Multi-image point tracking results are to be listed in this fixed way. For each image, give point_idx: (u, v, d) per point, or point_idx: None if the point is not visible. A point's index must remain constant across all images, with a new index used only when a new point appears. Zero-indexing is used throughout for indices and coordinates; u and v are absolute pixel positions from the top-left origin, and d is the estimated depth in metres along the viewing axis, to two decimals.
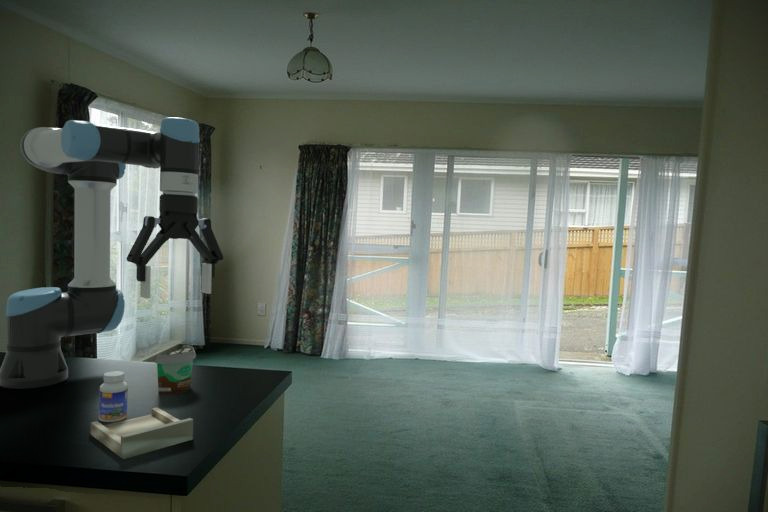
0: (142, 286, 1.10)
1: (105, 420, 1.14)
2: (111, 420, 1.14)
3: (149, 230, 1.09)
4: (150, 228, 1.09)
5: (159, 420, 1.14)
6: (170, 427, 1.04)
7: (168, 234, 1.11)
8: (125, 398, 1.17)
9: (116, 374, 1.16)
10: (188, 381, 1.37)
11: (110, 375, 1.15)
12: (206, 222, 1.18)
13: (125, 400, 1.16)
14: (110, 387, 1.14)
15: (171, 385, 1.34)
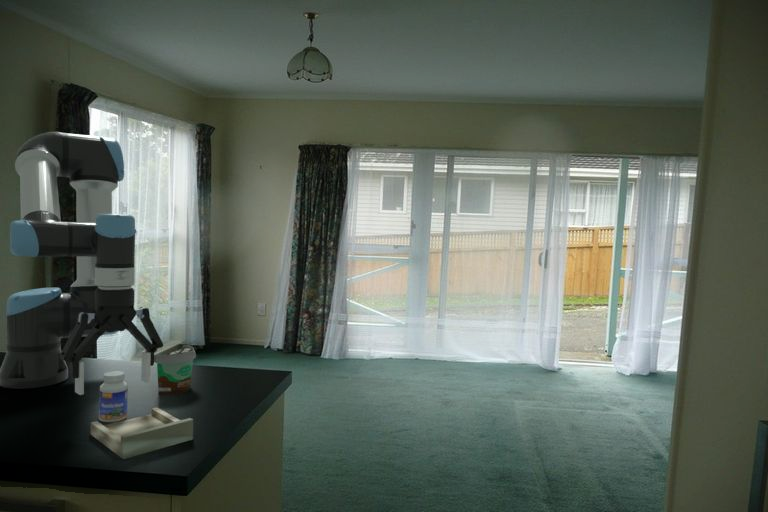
0: (76, 381, 1.11)
1: (105, 420, 1.14)
2: (111, 420, 1.14)
3: (82, 327, 1.10)
4: (83, 325, 1.10)
5: (159, 420, 1.14)
6: (170, 427, 1.04)
7: (102, 329, 1.12)
8: (125, 398, 1.17)
9: (116, 374, 1.16)
10: (188, 381, 1.37)
11: (110, 375, 1.15)
12: (144, 312, 1.19)
13: (125, 400, 1.16)
14: (110, 387, 1.14)
15: (171, 385, 1.34)
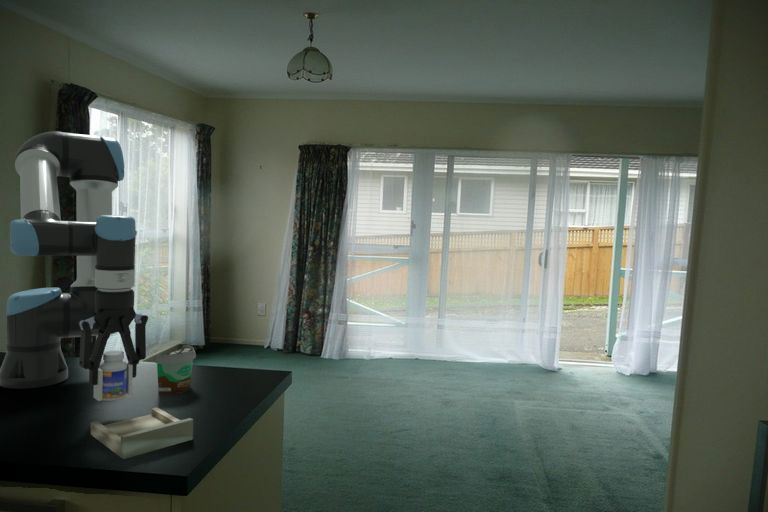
0: (94, 387, 1.15)
1: (104, 399, 1.15)
2: (110, 399, 1.15)
3: (87, 335, 1.11)
4: (88, 333, 1.11)
5: (159, 420, 1.14)
6: (170, 427, 1.04)
7: (107, 333, 1.13)
8: (125, 377, 1.17)
9: (116, 353, 1.16)
10: (188, 381, 1.37)
11: (110, 354, 1.15)
12: (143, 318, 1.19)
13: (124, 379, 1.17)
14: (110, 366, 1.14)
15: (171, 385, 1.34)
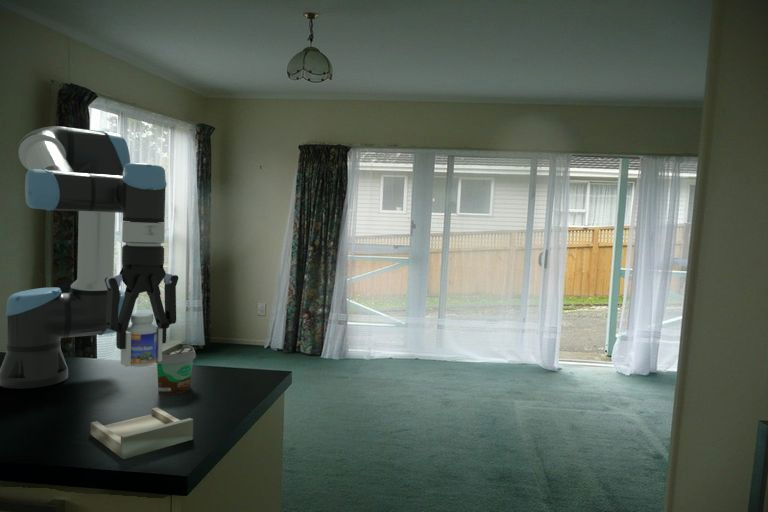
0: (122, 352, 1.05)
1: (133, 364, 1.05)
2: (139, 364, 1.05)
3: (115, 293, 1.01)
4: (116, 291, 1.01)
5: (159, 420, 1.14)
6: (170, 427, 1.04)
7: (136, 291, 1.04)
8: (155, 341, 1.07)
9: (145, 315, 1.06)
10: (188, 381, 1.37)
11: (138, 315, 1.05)
12: (173, 278, 1.10)
13: (154, 344, 1.07)
14: (139, 328, 1.05)
15: (171, 385, 1.34)
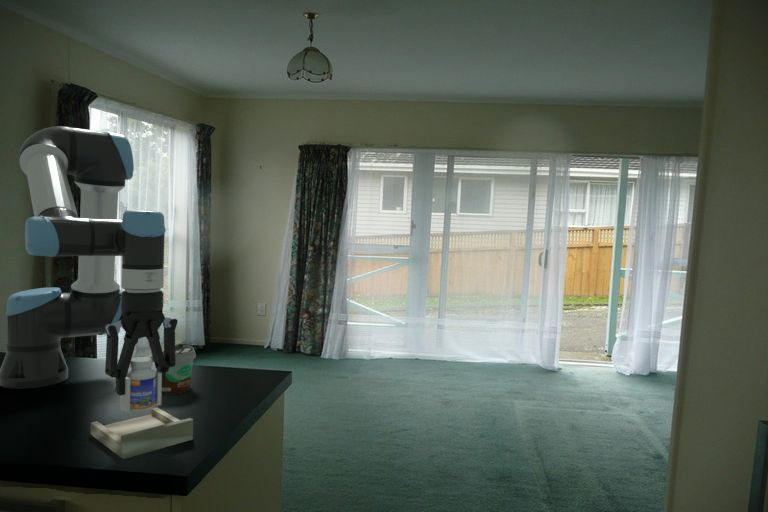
0: (121, 398, 1.06)
1: (132, 409, 1.05)
2: (139, 410, 1.05)
3: (114, 340, 1.02)
4: (115, 338, 1.02)
5: (159, 420, 1.14)
6: (170, 427, 1.04)
7: (135, 337, 1.04)
8: (154, 386, 1.08)
9: (144, 360, 1.07)
10: (188, 381, 1.37)
11: (138, 361, 1.06)
12: (172, 322, 1.10)
13: (153, 388, 1.08)
14: (138, 374, 1.05)
15: (171, 385, 1.34)
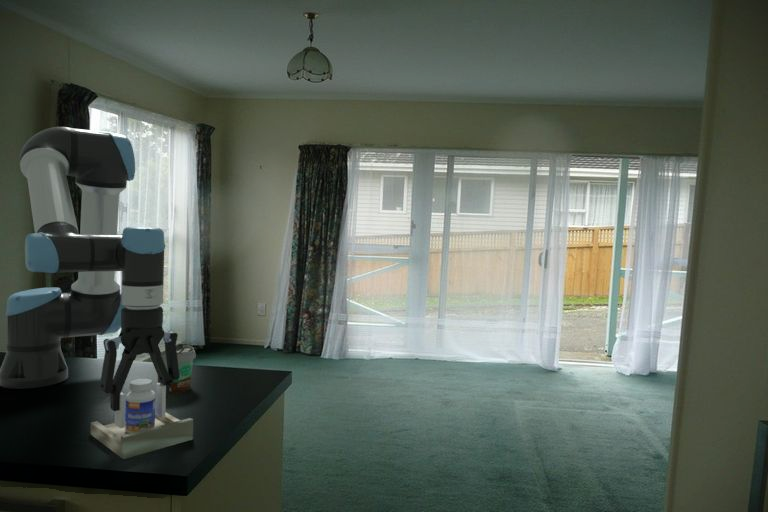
0: (116, 413, 1.05)
1: (132, 432, 1.06)
2: None
3: (112, 356, 1.02)
4: (113, 354, 1.02)
5: (159, 420, 1.14)
6: (170, 427, 1.04)
7: (133, 354, 1.04)
8: (153, 408, 1.08)
9: (143, 382, 1.07)
10: (188, 381, 1.37)
11: (137, 383, 1.06)
12: (172, 336, 1.11)
13: (153, 410, 1.08)
14: (138, 396, 1.06)
15: (171, 385, 1.34)
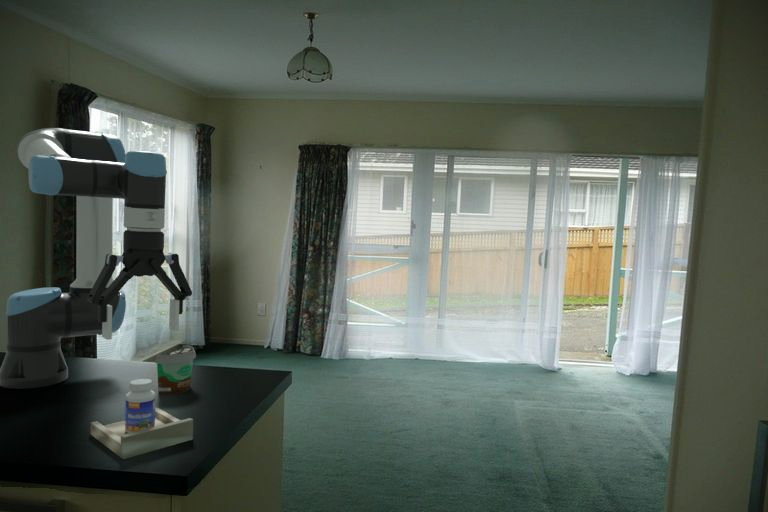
0: (103, 326, 1.06)
1: (132, 432, 1.06)
2: None
3: (111, 269, 1.04)
4: (112, 267, 1.05)
5: (159, 420, 1.14)
6: (170, 427, 1.04)
7: (131, 272, 1.07)
8: (153, 408, 1.08)
9: (143, 382, 1.07)
10: (188, 381, 1.37)
11: (137, 383, 1.06)
12: (173, 257, 1.14)
13: (153, 410, 1.08)
14: (137, 396, 1.06)
15: (171, 385, 1.34)
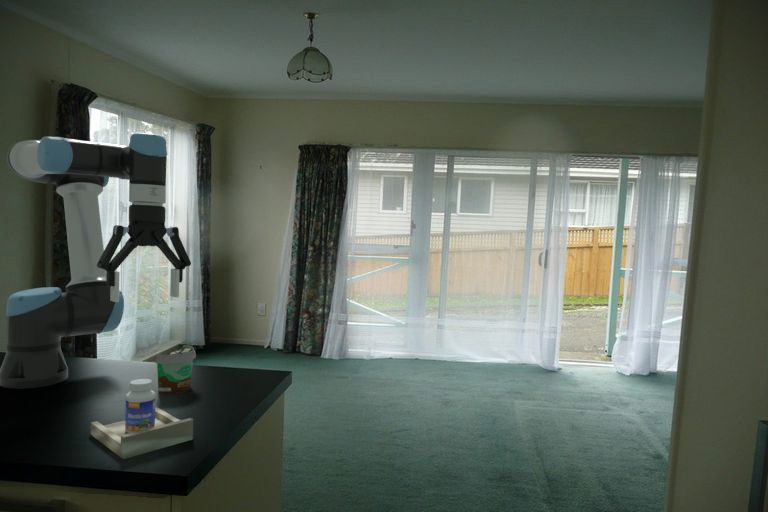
0: (111, 290, 1.18)
1: (132, 432, 1.06)
2: None
3: (118, 238, 1.17)
4: (119, 237, 1.17)
5: (159, 420, 1.14)
6: (170, 427, 1.04)
7: (136, 242, 1.19)
8: (153, 408, 1.08)
9: (143, 382, 1.07)
10: (188, 381, 1.37)
11: (137, 383, 1.06)
12: (174, 230, 1.26)
13: (153, 410, 1.08)
14: (137, 396, 1.06)
15: (171, 385, 1.34)
